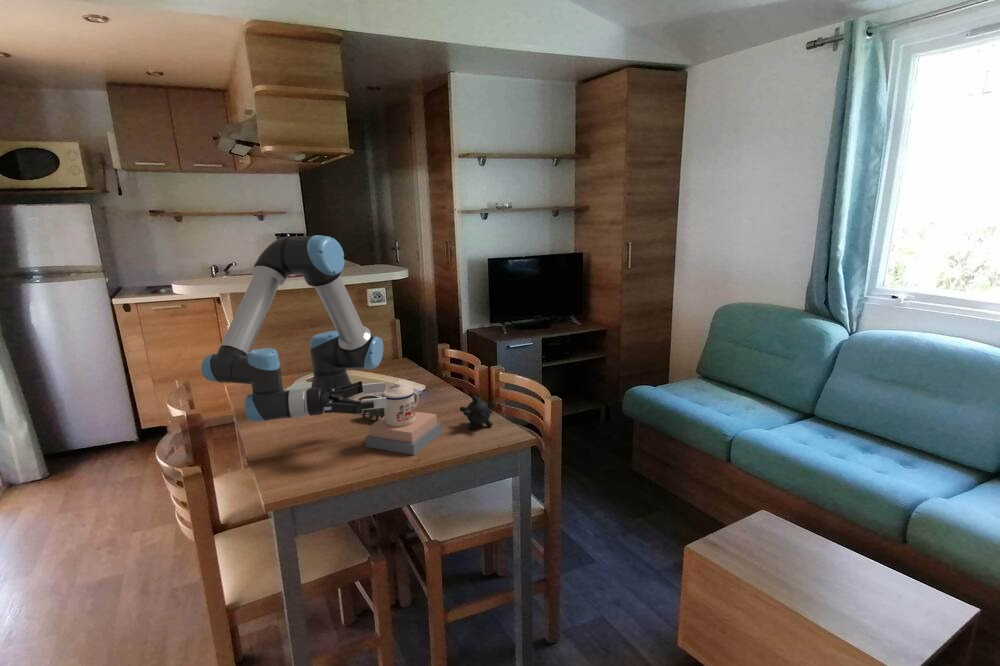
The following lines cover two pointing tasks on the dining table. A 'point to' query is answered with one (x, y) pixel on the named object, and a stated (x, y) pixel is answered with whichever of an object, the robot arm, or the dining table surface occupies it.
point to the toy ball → (478, 412)
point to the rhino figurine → (374, 413)
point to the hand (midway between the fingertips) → (386, 394)
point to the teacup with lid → (400, 405)
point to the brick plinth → (404, 444)
